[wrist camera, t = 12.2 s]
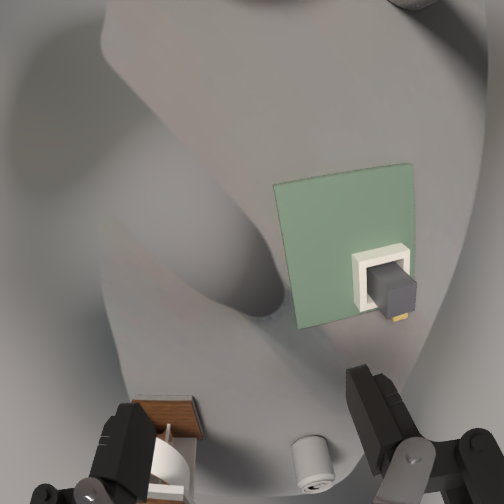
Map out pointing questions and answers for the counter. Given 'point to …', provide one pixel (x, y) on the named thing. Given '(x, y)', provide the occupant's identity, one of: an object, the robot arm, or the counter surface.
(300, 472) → the can
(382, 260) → the board
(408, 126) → the counter surface
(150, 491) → the white tall box
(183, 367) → the counter surface
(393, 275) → the plug
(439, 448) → the robot arm
